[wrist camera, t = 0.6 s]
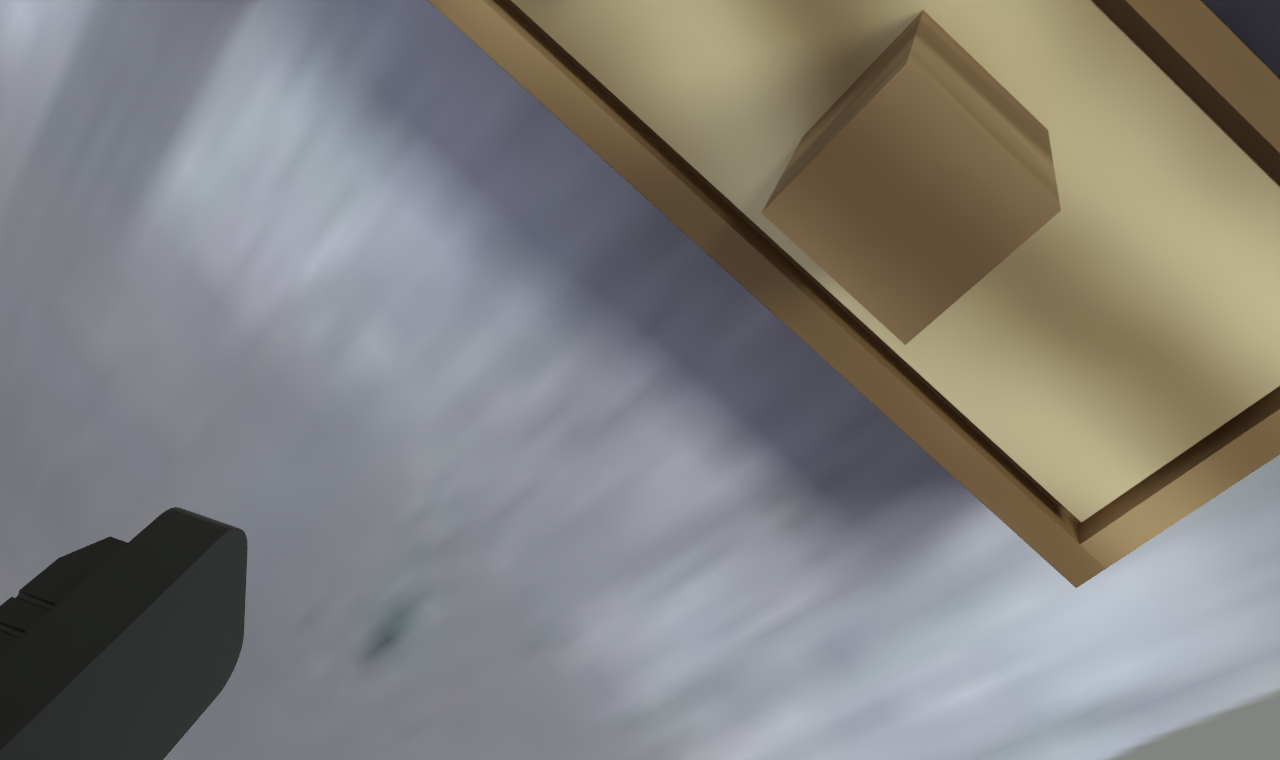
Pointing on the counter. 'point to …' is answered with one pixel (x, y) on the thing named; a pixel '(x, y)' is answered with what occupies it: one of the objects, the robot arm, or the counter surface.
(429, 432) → the counter surface
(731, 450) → the counter surface
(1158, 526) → the wooden box
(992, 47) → the lid
